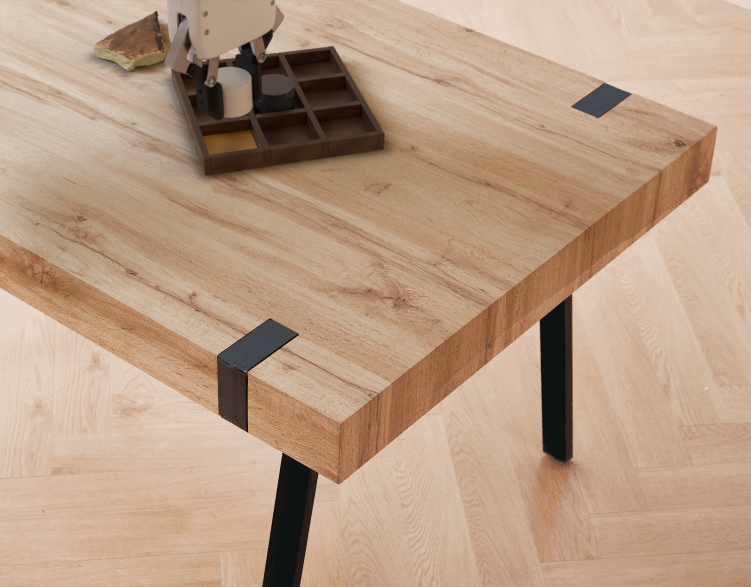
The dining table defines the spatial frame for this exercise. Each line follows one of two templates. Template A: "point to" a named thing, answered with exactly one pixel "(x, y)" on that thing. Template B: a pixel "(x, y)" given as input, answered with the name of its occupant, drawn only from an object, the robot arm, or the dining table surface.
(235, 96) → the ivory stone
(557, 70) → the dining table surface
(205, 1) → the robot arm
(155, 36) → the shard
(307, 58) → the board
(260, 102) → the black stone
